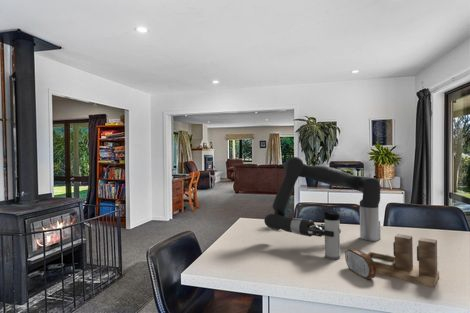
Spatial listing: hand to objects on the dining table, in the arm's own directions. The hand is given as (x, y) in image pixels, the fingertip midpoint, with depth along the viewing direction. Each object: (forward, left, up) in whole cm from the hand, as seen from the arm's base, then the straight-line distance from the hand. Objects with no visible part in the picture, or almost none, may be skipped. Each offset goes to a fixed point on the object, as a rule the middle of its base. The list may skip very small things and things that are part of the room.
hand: (336, 232), depth 122 cm
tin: (+3, +17, -11) cm, 20 cm away
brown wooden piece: (-12, +20, -11) cm, 26 cm away
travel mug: (+1, -2, -11) cm, 11 cm away
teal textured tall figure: (-6, -60, -11) cm, 61 cm away
